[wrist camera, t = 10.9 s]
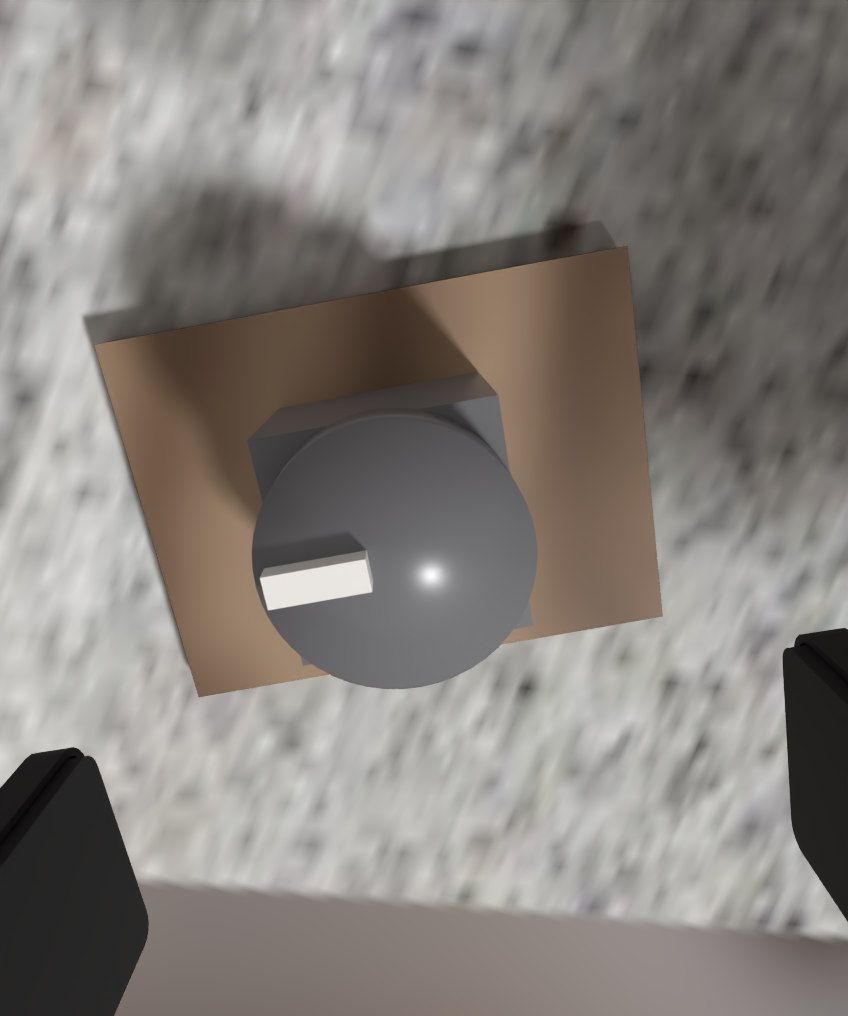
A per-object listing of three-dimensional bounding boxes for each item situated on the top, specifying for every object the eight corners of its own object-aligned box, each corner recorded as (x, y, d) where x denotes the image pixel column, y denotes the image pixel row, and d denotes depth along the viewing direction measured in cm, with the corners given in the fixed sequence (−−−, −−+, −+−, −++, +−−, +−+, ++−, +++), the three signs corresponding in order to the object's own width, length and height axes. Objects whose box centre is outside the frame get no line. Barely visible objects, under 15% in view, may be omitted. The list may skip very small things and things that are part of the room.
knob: (483, 364, 23) (519, 399, 16) (514, 564, 25) (559, 676, 18) (270, 402, 23) (213, 455, 16) (317, 599, 25) (283, 723, 18)
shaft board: (617, 247, 23) (681, 236, 18) (653, 604, 27) (715, 683, 21) (106, 342, 24) (21, 359, 18) (205, 682, 27) (158, 779, 22)
